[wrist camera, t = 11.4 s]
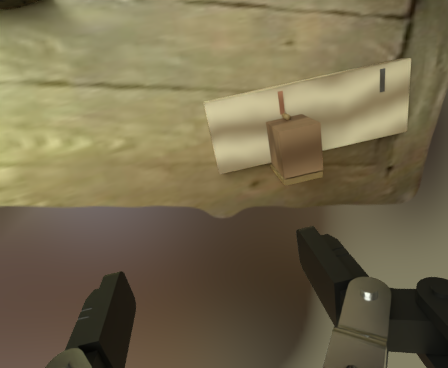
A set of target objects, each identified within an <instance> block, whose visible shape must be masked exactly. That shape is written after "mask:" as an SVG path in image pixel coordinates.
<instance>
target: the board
mask: <svg viewBox="0 0 448 368" xmlns="http://www.w3.org/2000/svg"><path fill="white" fill-rule="evenodd" d="M410 71H411V58H400V59H396V60H391V61H387V62H382V63H378V64H373V65H369V66H364V67H359V68H355V69H350V70H346V71H341V72H337V73H332V74H328V75H323V76H319V77H314V78H309V79H305V80H300V81H296V82H291V83H287V84H282V85H278V86H273V87H269V88H264V89H259V90H255V91H250V92H246V93H241V94H237V95H232V96H228V97H223V98H219V99H214V100H209V101H205V102H204V107H205V111H206V116H207V121H208V125H209V130H210V134H211V139H212V143H213V148H214V153H215V157H216V162H217V166H218V171H219V174H223V173H228V172H232V171H236V170H241V169H245V168H249V167H254V166H258V165H263V164H267V163H271V156H270V148H269V141H268V134H267V126H266V122H268V121H273V120H277V119H281V118H282V114H283V113H287V114H288V115H290V116H295V115H299V114H303V115H305V116H307V117H309V118H312V119H314V120H316V121H318V122H320V123H321V139H322V151H324V150H328V149H332V148H337V147H341V146H346V145H350V144H354V143H359V142H363V141H367V140H372V139H376V138H381V137H385V136H389V135H394V134H398V133H402V132H407V120H408V104H409V87H410Z"/></svg>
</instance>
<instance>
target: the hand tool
mask: <svg viewBox="0 0 448 368" xmlns="http://www.w3.org/2000/svg"><path fill="white" fill-rule="evenodd" d="M37 1H39V0H0V9H11V8H18V7H21V6H24V5H28V4H31V3H34V2H37Z"/></svg>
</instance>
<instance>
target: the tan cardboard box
mask: <svg viewBox="0 0 448 368" xmlns="http://www.w3.org/2000/svg"><path fill="white" fill-rule="evenodd" d="M266 126H267V134H268V141H269V148H270V156H271V163H270V168H271V169H272V170H273V172H274V173H275V174H276V175H277V177H278V178H279V179H280V180H281V182H282V183H283V184H284V185H285V186H286V185H290V184H295V183H299V182H303V181H308V180H312V179H316V178H321V177H323V171H322V170H323V155H322V139H321V123H320V122H318V121H316V120H314V119H312V118H309V117H307V116H305V115H303V114H299V115H295V116H290V115H288V114H287V113H283V114H282V118H281V119H277V120H273V121H268V122H266Z"/></svg>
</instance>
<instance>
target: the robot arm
mask: <svg viewBox="0 0 448 368" xmlns="http://www.w3.org/2000/svg"><path fill="white" fill-rule="evenodd" d="M296 233H297V243H298V252H299V258H300V263H301V265H302V268H303V270H304V272H305V274H306V276H307V278H308V279H309V281H310V283H311V285H312V287H313V288H314V290H315V292H316V294H317V296H318V297H319V299H320V301H321V303H322V304H323V306H324V308H325V310H326V312H327V313H328V315H329V317H330V319H331V320H332V322H333V324H334V326H335V327H334V328H333V331H332V335H331V338H330V342H329V345H328V349H327V353H326V357H325V360H324V364H323V368H387V366H388V354H389V351H391V352H405V353H417V355H418V356H419V358H420V359H421V360H422V362H423V363H424V365H425V366H426V367H427V368H448V280H447V279H443V278H437V277H428V278H424V279H422V280H420V281H419V282H418V283H417V288H416V289H394V288H389V287H388V286H387V285H386V284H385V283H384V282H382V281H380V280H378V279H376V278H372V277H369V276H368V275H367V274H366V272H364V270H363V269H362V268H361V267H360V265H359V264H358V263H357V262H356V261H355V260H354V258H353V257H352V256H351V255H349V253H348V251H347V250H346V249H345V248H344V247H343V245H342V244H341V243H340V242H339V241H338V239H335V238H334V237H332V236H330V235H328V234H325V235H320V234H319V233H318V231H317V230H316V229H315V227H314V226H310V227H306V228H302V229H298V230H297V231H296ZM135 312H136V302H135V297H134V295H133V292H132V290H131V288H130V285H129V283H128V281H127V279H126V276H125V274H124V273H123V272H117V273H113V274H108V275H105V276H104V277H103V280H102V282H101V285H100V288H99V289H95V290H94V291H93V292H92V293H91V294H90V295H89V297H88V298H87V299H86V301H85V303H84V305H83V308H82V312H81V313H80V315H79V317H78V321H77V322H76V325H75V327H74V330H73V332H72V334H71V337H70V339H69V342H68V344H67V347H66V349H65V351H63V352H61V353H60V354H58V355H57V356H56V357H54V358H53V359H52V360H51V361H50V362H49V363H48V365H47V366H46V367H45V368H125V363H126V358H127V353H128V347H129V342H130V337H131V332H132V327H133V322H134V317H135Z"/></svg>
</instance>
